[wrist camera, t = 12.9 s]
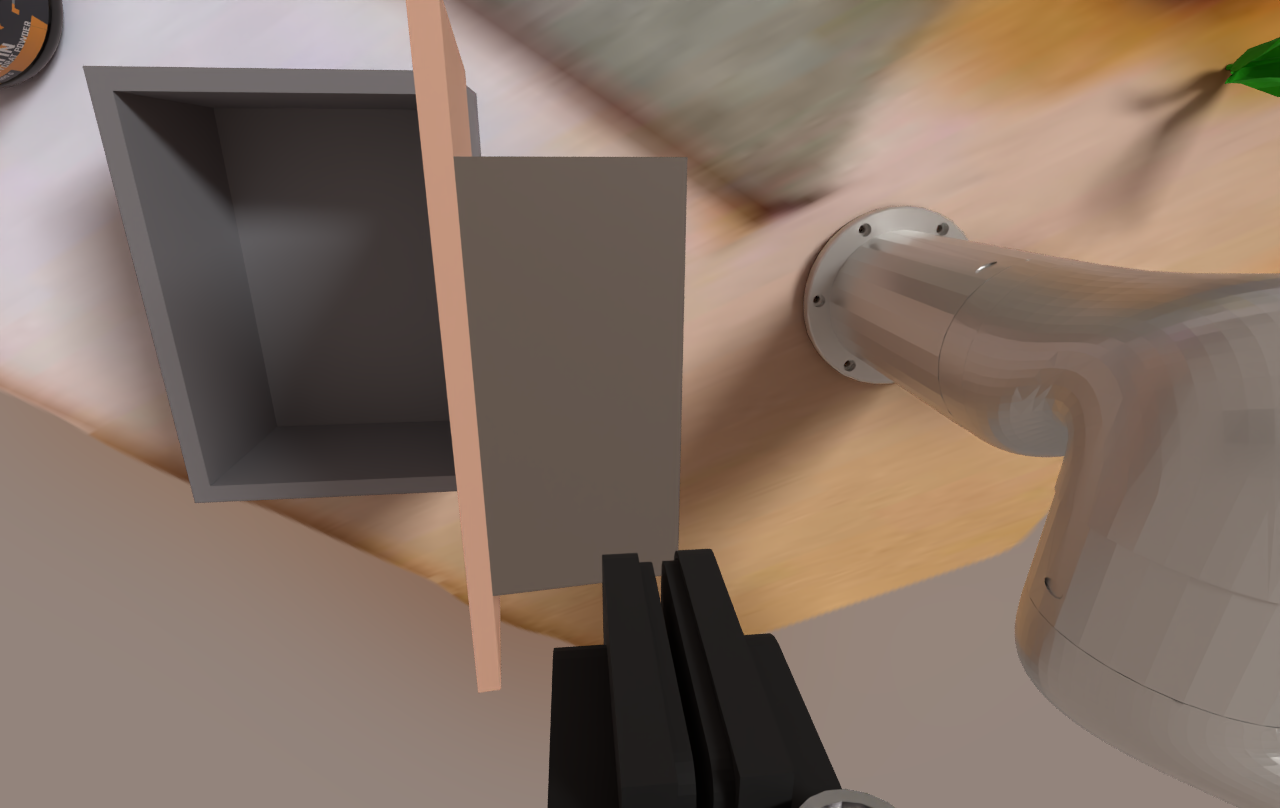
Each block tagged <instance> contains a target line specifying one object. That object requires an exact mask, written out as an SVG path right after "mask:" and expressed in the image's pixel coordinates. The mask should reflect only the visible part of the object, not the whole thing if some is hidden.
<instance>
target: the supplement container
mask: <svg viewBox="0 0 1280 808" xmlns="http://www.w3.org/2000/svg"><path fill="white" fill-rule="evenodd" d="M62 26H63V4H62V0H0V89H3V88H7V87H12V86H15V85H17V84H20V83H23V82H25V81H26V80H28V79H30V78H32V77H33V76H34V75H36V74H37V73H39V72H40V71H41V70H42V69H43V68H44V67H45V66H46V65H47V63H48V62H49V61H50V59H51V58H52V56H53V54H54V53H55V51H56V49H57V46H58V44H59V41H60V37H61V33H62Z"/></svg>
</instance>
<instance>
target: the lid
mask: <svg viewBox="0 0 1280 808" xmlns="http://www.w3.org/2000/svg"><path fill="white" fill-rule="evenodd" d="M406 6H407V16H408V25H409V35H410V45H411V54H412V64H413V73H414V83H415V92H416V102H417V111H418V121H419V131H420V140H421V150H422V159H423V169H424V178H425V188H426V197H427V207H428V216H429V226H430V236H431V245H432V255H433V264H434V274H435V283H436V293H437V302H438V312H439V322H440V331H441V341H442V350H443V360H444V369H445V379H446V388H447V398H448V408H449V417H450V427H451V436H452V446H453V455H454V465H455V474H456V484H457V493H458V503H459V513H460V522H461V532H462V541H463V551H464V560H465V570H466V579H467V589H468V599H469V608H470V618H471V627H472V636H473V646H474V656H475V665H476V674H477V684H478V692H479V693H480V692H488V691H494V690H500V689H501V643H500V642H501V640H500V638H501V637H500V595H506V594H514V593H523V592H531V591H539V590H547V589H556V588H564V587H572V586H580V585H588V584H597V583H602V555H605V554H623V553H638V557H639V562H652V564H653V568H654V573H655V576H661V569H662V561H671V560H674V554H675V551H678V540H679V496H680V453H681V410H682V367H683V323H684V280H685V237H686V194H687V157H472V152H471V139H470V127H469V115H468V102H467V90H466V78H465V70H464V66H463V63H462V60H461V57H460V54H459V50H458V47H457V44H456V41H455V37H454V34H453V31H452V28H451V25H450V21H449V18H448V15H447V12H446V8H445V5H444V2H443V0H406Z"/></svg>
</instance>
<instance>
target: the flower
mask: <svg viewBox="0 0 1280 808" xmlns="http://www.w3.org/2000/svg"><path fill="white" fill-rule="evenodd" d="M1226 70H1231V74H1232V75H1231V76H1230V77H1229V78H1228V79H1227V80H1226V82H1225V84H1227V83H1241V84H1244V85H1247V86H1249V87H1252V88H1255V89H1258V90H1260V91H1263V92H1266V93H1269V94H1271V95H1274V96H1277V97H1280V37H1279V38H1277V39H1274V40H1272V41H1269V42H1266V43H1264V44H1261V45H1258V46H1255V47H1253V48H1250V49H1248V50H1247V51H1246V52H1245V53H1244V54H1243V55H1242V56H1241V57H1239V58H1238V59H1237V60H1236V62H1235V63H1234V64H1229V65H1227V66H1226Z"/></svg>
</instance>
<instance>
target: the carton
mask: <svg viewBox="0 0 1280 808" xmlns="http://www.w3.org/2000/svg"><path fill="white" fill-rule="evenodd" d="M83 69H84V73H85V77H86V81H87V85H88V89H89V92H90V96H91V100H92V104H93V108H94V112H95V116H96V120H97V124H98V127H99V131H100V135H101V139H102V143H103V147H104V151H105V155H106V159H107V162H108V166H109V170H110V174H111V178H112V182H113V186H114V190H115V194H116V197H117V201H118V205H119V209H120V213H121V217H122V221H123V225H124V229H125V232H126V236H127V240H128V244H129V248H130V252H131V256H132V260H133V264H134V267H135V271H136V275H137V279H138V283H139V287H140V291H141V295H142V299H143V302H144V306H145V310H146V314H147V318H148V322H149V326H150V330H151V334H152V337H153V341H154V345H155V349H156V353H157V357H158V361H159V365H160V369H161V372H162V376H163V380H164V384H165V388H166V392H167V396H168V400H169V404H170V407H171V411H172V415H173V419H174V423H175V427H176V431H177V435H178V438H179V442H180V446H181V450H182V454H183V458H184V462H185V466H186V470H187V473H188V477H189V481H190V485H191V489H192V493H193V497H194V500H195V503H205V502H226V501H249V500H272V499H294V498H316V497H338V496H361V495H383V494H405V493H427V492H449V491H457V484H456V474H455V465H454V455H453V446H452V436H451V427H450V417H449V408H448V398H447V388H446V379H445V369H444V360H443V350H442V341H441V331H440V322H439V312H438V302H437V293H436V283H435V274H434V264H433V255H432V245H431V236H430V226H429V216H428V207H427V197H426V188H425V178H424V169H423V159H422V150H421V140H420V131H419V121H418V111H417V102H416V92H415V83H414V73H413V71H411V70H338V69H266V68H194V67H122V66H83ZM466 90H467V102H468V115H469V127H470V139H471V152H472V157H481V150H480V137H479V124H478V111H477V97H476V93H475V92H474V91H472V90H471V89H470V88H469V87H467V86H466Z"/></svg>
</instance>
